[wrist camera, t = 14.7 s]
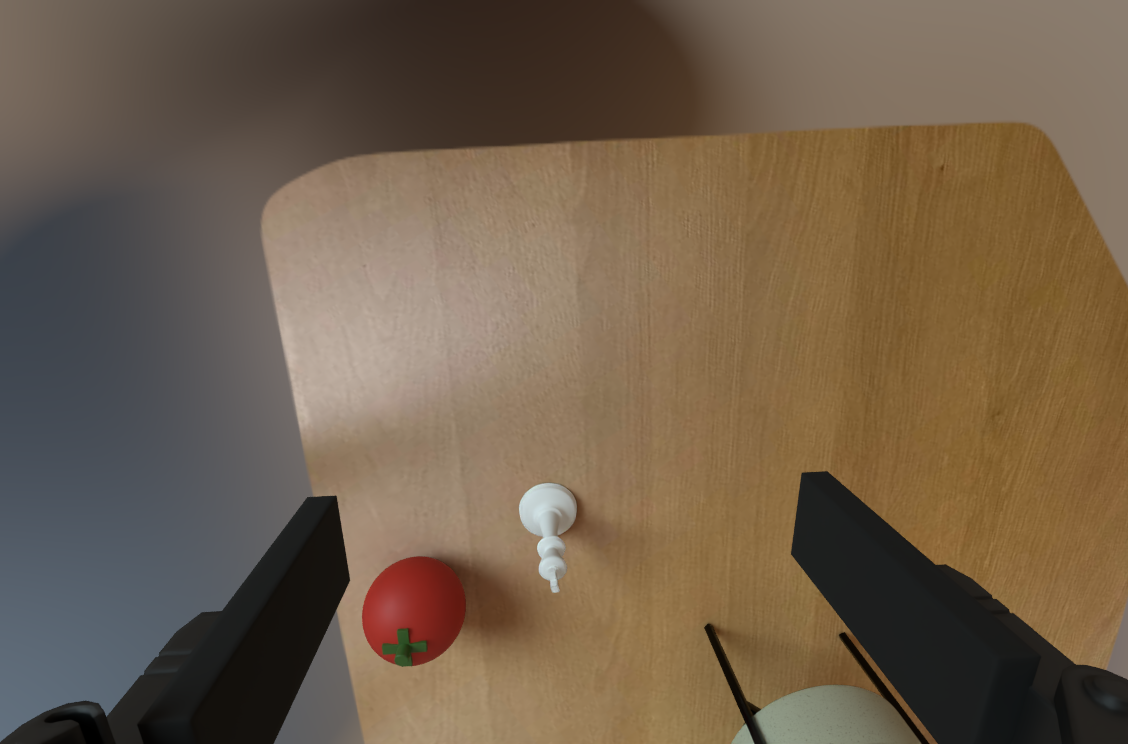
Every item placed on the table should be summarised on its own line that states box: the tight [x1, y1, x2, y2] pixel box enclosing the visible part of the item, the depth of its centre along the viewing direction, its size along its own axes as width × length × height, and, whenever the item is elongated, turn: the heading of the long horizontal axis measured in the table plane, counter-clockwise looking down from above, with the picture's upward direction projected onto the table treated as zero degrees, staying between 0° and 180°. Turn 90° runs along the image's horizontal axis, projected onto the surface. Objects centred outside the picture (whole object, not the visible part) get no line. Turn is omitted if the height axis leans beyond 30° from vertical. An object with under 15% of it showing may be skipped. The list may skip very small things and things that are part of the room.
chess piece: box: [519, 483, 577, 593], centre depth 40 cm, size 5×5×10 cm
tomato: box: [362, 557, 466, 667], centre depth 42 cm, size 8×8×9 cm
